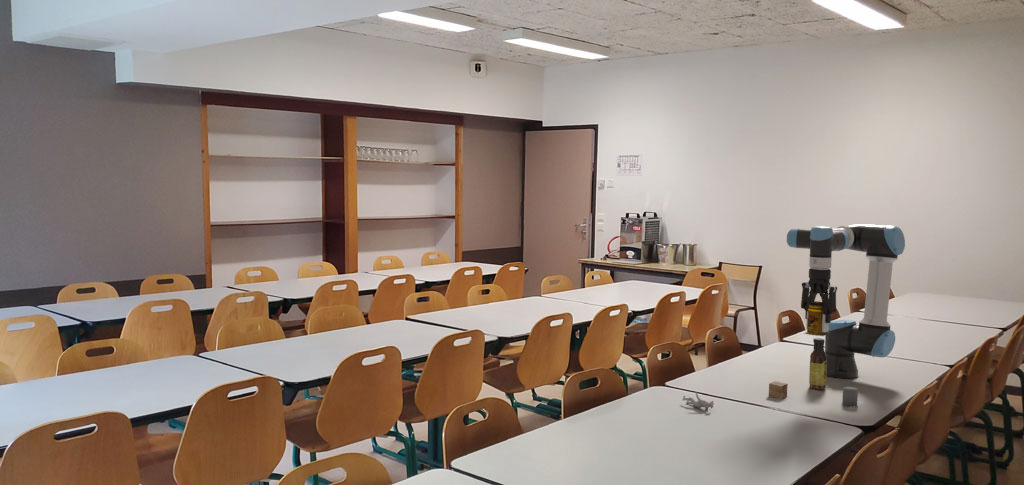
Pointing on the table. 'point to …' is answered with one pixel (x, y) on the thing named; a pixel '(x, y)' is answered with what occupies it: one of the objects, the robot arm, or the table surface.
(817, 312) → the condiment
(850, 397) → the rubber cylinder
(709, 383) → the table surface
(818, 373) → the sauce bottle
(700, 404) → the soldier figure
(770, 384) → the walnut block
